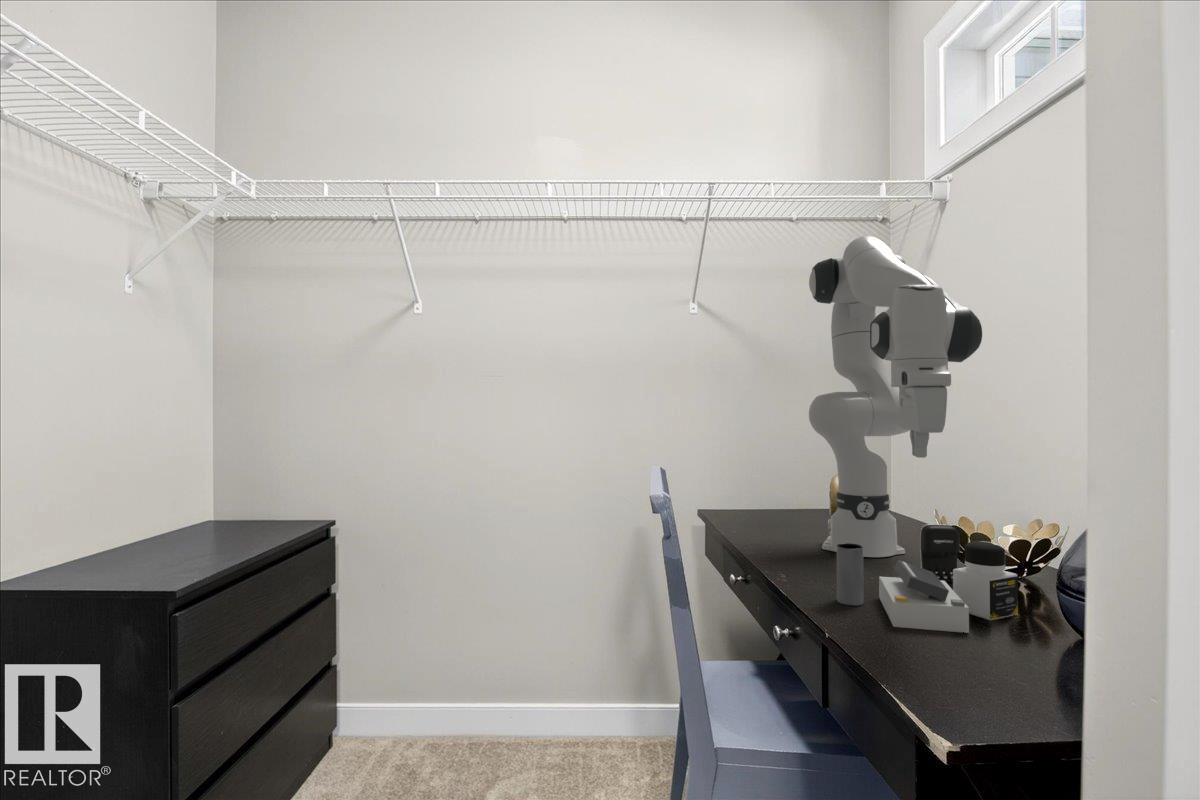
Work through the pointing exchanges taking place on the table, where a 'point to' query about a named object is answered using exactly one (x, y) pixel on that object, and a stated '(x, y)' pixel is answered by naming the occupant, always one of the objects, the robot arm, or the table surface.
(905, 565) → the dark gray slim case
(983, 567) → the medicine bottle
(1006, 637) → the table surface
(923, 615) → the panel
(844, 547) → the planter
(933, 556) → the battery charger
